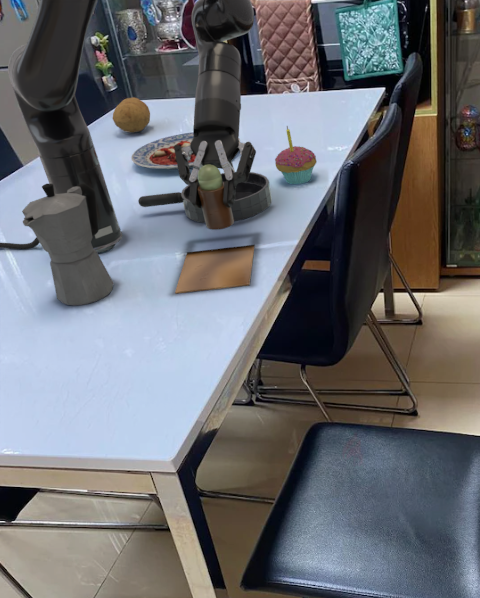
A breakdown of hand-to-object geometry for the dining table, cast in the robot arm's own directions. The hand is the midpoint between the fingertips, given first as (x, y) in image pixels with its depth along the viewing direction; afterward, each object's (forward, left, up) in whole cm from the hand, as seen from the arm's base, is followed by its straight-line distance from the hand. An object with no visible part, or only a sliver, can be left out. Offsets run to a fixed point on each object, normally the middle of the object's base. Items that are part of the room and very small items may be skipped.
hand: (212, 205), depth 117 cm
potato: (-32, +87, -9) cm, 93 cm away
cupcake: (+13, +32, -9) cm, 36 cm away
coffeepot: (-22, -8, -9) cm, 25 cm away
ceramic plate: (-14, +58, -9) cm, 61 cm away
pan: (-1, +21, -9) cm, 23 cm away
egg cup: (0, +2, -4) cm, 4 cm away
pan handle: (-13, +21, -6) cm, 26 cm away
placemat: (-1, -3, -9) cm, 9 cm away
